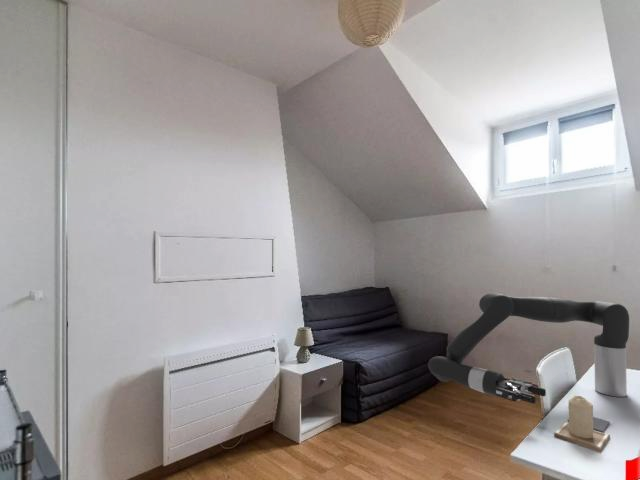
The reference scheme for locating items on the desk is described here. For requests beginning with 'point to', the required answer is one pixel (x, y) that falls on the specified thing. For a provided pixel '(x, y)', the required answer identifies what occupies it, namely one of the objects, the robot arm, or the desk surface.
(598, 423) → the pad
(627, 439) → the desk surface
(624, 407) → the desk surface
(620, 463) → the desk surface
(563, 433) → the board
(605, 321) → the robot arm
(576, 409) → the candle
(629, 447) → the desk surface
